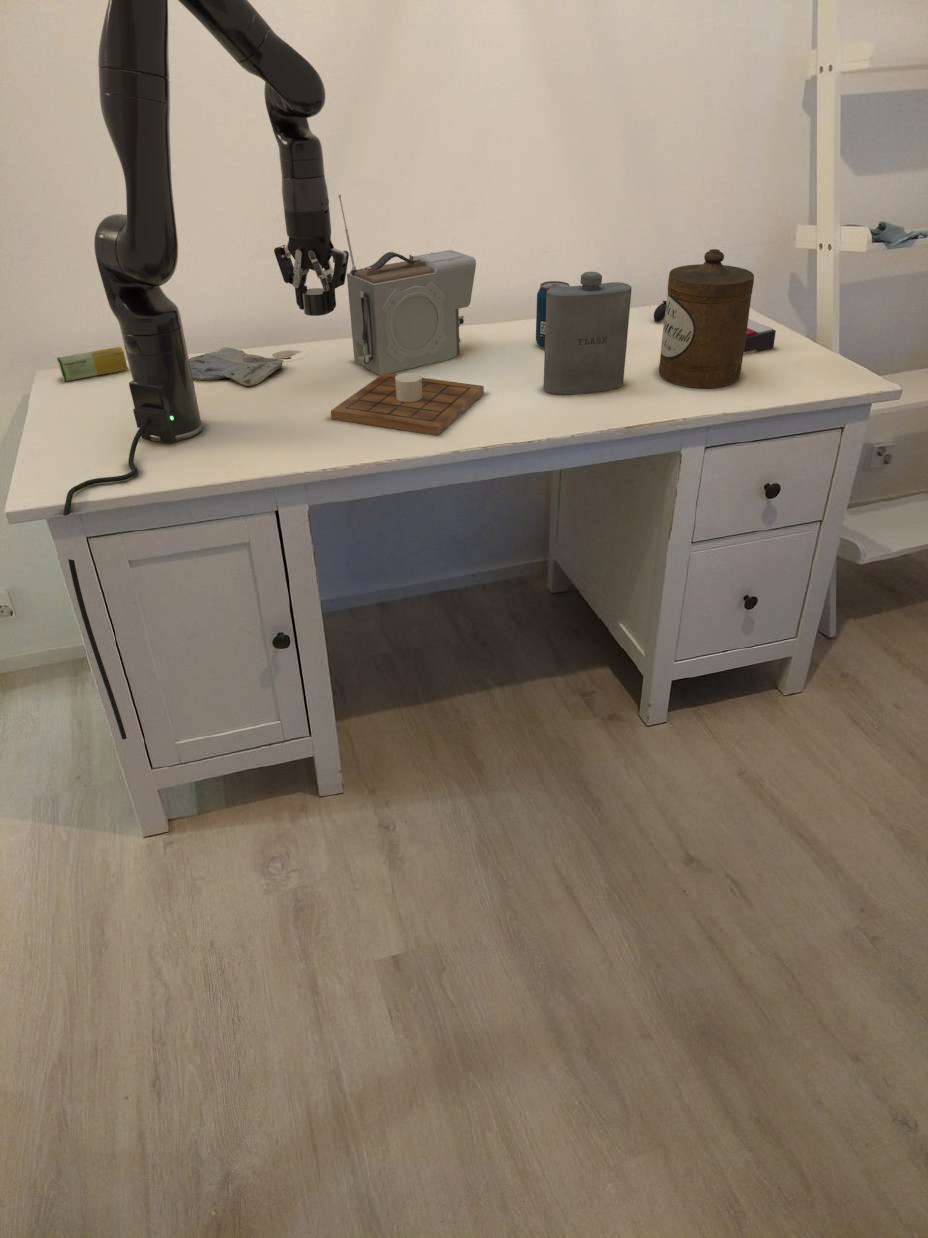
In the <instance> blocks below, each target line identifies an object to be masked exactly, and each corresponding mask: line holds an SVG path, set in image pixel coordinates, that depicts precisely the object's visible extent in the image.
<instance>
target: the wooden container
mask: <svg viewBox="0 0 928 1238" xmlns="http://www.w3.org/2000/svg"><path fill="white" fill-rule="evenodd" d="M703 258H704V262H703V263H701V264H698V263H697V264H686V265H681V266H678V267H674V268H672V269H671V270H670V271H669V274H668V280H667V295H666V301H667V303H666V311H665V316H664V318H663V319H664V320H663V326H662V327H663V328H662V333H661V334H662V335H661V345H660V356H659V357H660V358H659V366H658V373H659V376H660V377H661V378H662V379H664V381H667V382H669V383H672V384H675V385H678V386H682V387H688V388H696V389H712V388H722V387H726V386H730V385H732V384H734V383H736V382H738V381H739V379H740V377H741V373H742V365H743V360H744V359H743V358H744V354H745V353H744V348H745V342H746V334H747V326H748V319H749V317H750V309H751V302H752V294H753V289H754V281H755V275H754V272H753V271H750V270H749V269H746V268H744V267H738V266H733V265H727V264H723V263H722V262H723V261H724V259H725V254H724V253H723V252H722V251H721V250H720V249H717V248H712V249H709V250H708V251H706V252H705V253H704V256H703Z"/></svg>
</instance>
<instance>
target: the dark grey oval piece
mask: <svg viewBox="0 0 928 1238" xmlns="http://www.w3.org/2000/svg"><path fill="white" fill-rule="evenodd" d="M666 303H667V300H662V303H660V304H659V305H658V306H657V307H656V308H655V309H654V312H653V320H654V322H656V323H660V322H662V321H663V319H665V311H666Z"/></svg>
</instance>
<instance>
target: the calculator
mask: <svg viewBox="0 0 928 1238" xmlns="http://www.w3.org/2000/svg"><path fill="white" fill-rule="evenodd" d="M776 332H777V331H776V330H775V329H774V328H773V327H770V326H768V325H766V324H762V323H761V322H758V321H755V320H753V319H750V318H748V326H747V334H746V342H745V348H744V354H745V353H748V352H752V351H756V352H758V353H759V352H764V351H767V350H772V349H774V346H775V340H776Z"/></svg>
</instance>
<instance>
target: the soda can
mask: <svg viewBox="0 0 928 1238" xmlns="http://www.w3.org/2000/svg"><path fill="white" fill-rule="evenodd" d="M559 286H570V283H568V282H565V281H559V280H550V281H549V280H548V281H544V282H542V283H540V284H539V289H538V290H537V293H536V313H535V314H536V315H535V316H536V319H535V342H536V343H537V345H538V347H539V348H540V349H543V350H545V326H546V297H547V290H548V289H550V288H553V287H559Z"/></svg>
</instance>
